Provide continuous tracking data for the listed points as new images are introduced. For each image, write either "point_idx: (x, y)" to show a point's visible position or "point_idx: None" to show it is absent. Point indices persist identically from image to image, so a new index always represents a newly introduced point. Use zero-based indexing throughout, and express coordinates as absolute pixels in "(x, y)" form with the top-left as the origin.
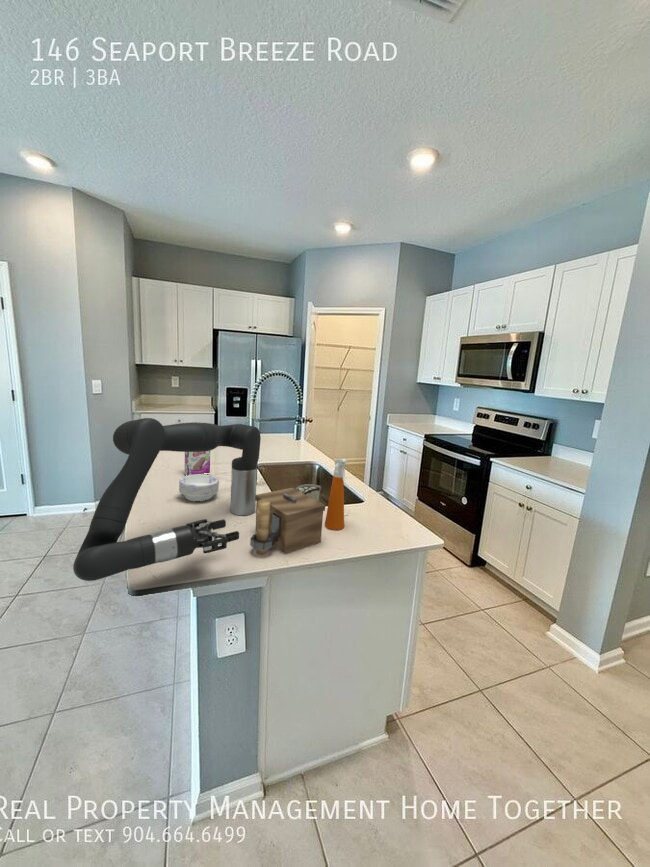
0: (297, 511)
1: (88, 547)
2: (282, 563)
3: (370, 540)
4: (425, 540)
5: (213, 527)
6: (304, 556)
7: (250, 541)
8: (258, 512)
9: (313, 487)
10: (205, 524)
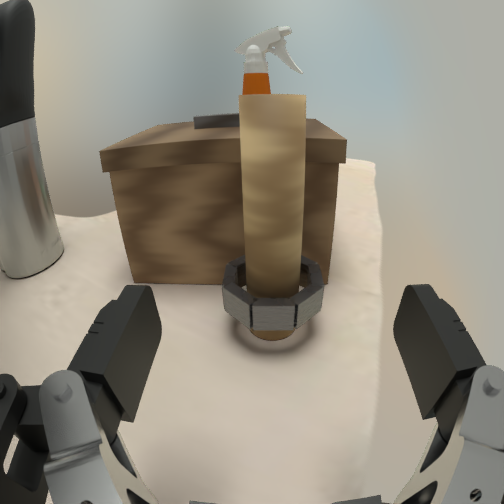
0: (326, 130)
1: None
2: (375, 306)
3: (342, 184)
4: (369, 164)
5: (125, 407)
6: (359, 258)
7: (252, 316)
8: (277, 150)
9: None
10: (100, 486)
